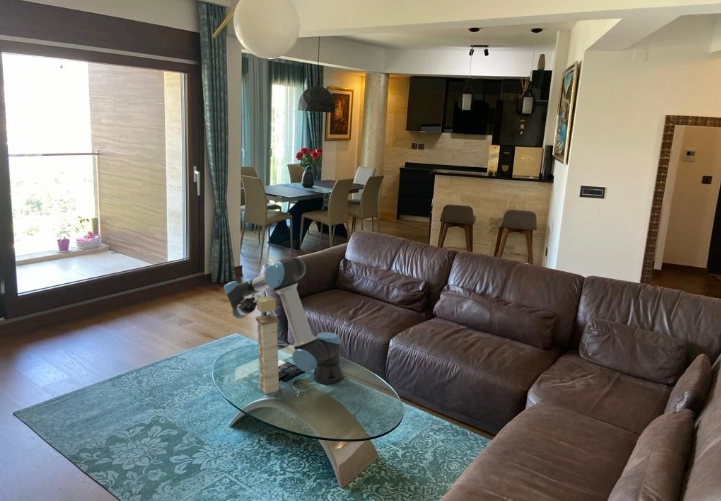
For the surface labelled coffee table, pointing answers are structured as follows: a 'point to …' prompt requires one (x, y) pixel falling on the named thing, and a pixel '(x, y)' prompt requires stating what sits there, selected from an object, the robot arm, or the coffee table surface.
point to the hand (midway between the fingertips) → (260, 296)
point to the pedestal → (268, 353)
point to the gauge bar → (265, 304)
